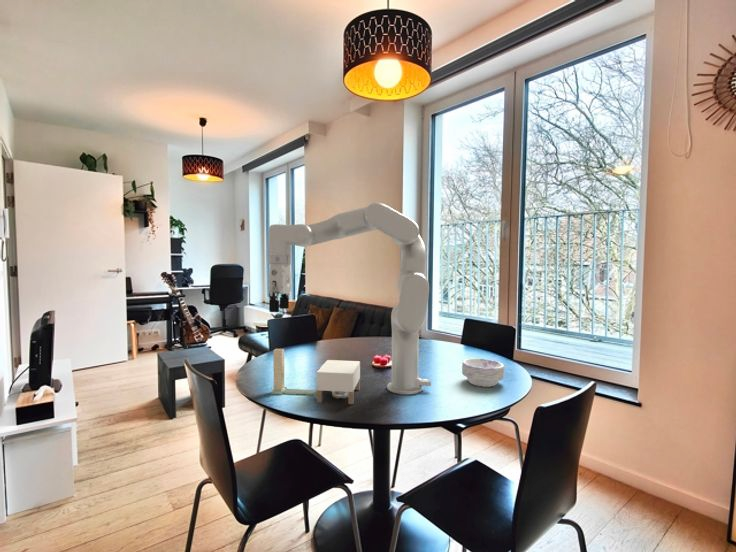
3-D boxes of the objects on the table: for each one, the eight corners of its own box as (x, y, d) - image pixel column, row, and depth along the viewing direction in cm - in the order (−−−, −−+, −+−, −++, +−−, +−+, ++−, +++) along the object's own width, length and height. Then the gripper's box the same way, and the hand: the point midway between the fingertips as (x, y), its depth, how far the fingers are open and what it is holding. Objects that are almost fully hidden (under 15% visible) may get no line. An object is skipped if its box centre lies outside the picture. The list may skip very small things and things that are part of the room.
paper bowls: (504, 379, 151) (504, 359, 151) (503, 392, 137) (504, 370, 136) (464, 375, 156) (464, 355, 156) (459, 387, 142) (460, 365, 142)
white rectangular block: (359, 388, 139) (360, 361, 139) (353, 404, 124) (353, 373, 124) (327, 387, 141) (327, 359, 140) (316, 402, 126) (316, 371, 125)
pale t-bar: (269, 395, 132) (269, 351, 131) (277, 388, 139) (276, 347, 138) (318, 397, 130) (318, 353, 129) (323, 390, 137) (323, 348, 136)
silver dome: (350, 393, 135) (350, 387, 135) (347, 399, 129) (347, 393, 129) (334, 392, 136) (334, 387, 136) (330, 398, 130) (330, 392, 130)
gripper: (281, 261, 124) (281, 314, 125) (298, 260, 141) (297, 307, 142) (259, 260, 125) (258, 313, 126) (278, 260, 142) (277, 306, 143)
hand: (279, 310), depth 134 cm, fingers open, 9 cm apart
